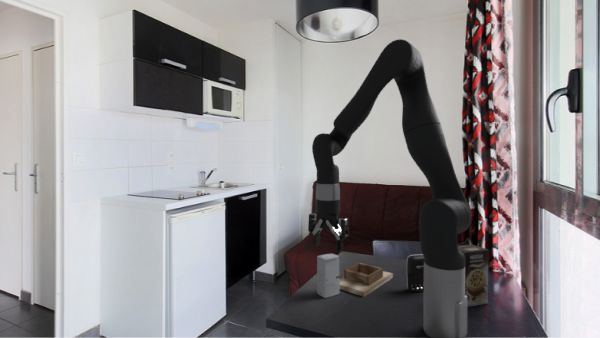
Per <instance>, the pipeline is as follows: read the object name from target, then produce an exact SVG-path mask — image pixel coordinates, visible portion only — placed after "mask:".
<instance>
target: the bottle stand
mask: <svg viewBox="0 0 600 338" xmlns="http://www.w3.org/2000/svg"><path fill="white" fill-rule="evenodd" d="M393 278H394V273H392V272H389V271H385V270H384V268H382V267H378V266H375V265H370V264H366V263H361V262H357V263H355V264H353V265H351V266H349V267H347V268H345V269H343V276H342V277H339V285H340V288H339V289H340V290H342V291H345V292H348V293H350V294H354V295H357V296H360V297H363V298H365V297H366V296H368V295H369V294H370V293H372V292H373V291H375V290H376V289H378V288H379V287H381V286H382V285H384V284H386V283H387V282H389V281H391V280H392V279H393Z"/></svg>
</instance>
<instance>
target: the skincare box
mask: <svg viewBox="0 0 600 338" xmlns="http://www.w3.org/2000/svg"><path fill="white" fill-rule="evenodd" d="M316 263H317V264H316V275H317V276H316V277H317V279H316V287H317V288H316V291H317V294H318V295H319V296H320V297H322V298H324V299H326V298H330V297H334V296H336V295H339V294H340V293H341V292H340V290H341V289H339V288H340V285H339V279H340V256H339V255H337V254H335V253H331V252H330V253H325V254H320V255H317V256H316Z"/></svg>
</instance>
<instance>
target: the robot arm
mask: <svg viewBox="0 0 600 338" xmlns="http://www.w3.org/2000/svg"><path fill="white" fill-rule="evenodd" d="M392 80H393V81H394V82H395V83H396V85H397V89H398V92H399V95H400V97H401V102H402V103H401V104H402V113H401V114H402V116H401V117H402V118H401V129H402V133H403V134H402V135H403V137H404V142H405V144H406V148H407V151H408V153H409V155H410V157H411V158H412V160H413V162H414V163H415V164H416V165H417V167H418V169H419V170H420V171H421V172H422V174H423V175H424V177H425V178H426V180H427V182H428V184H429V187H430V191H431V193H432V194H431V195H432V199H431V200H429V201H426V202H425V203H424V204H423V206H422V207H421V209H420V211H419V218H418V219H419V221H418V222H419V243H420V244H419V245H420V250H421V252H422V253H421V254H423V256H424V291H423V320H422V322H423V332H424V333H425V335H426V336H428V337H430V338H466V337H467V335H468V307H467V296H466V295H465V255H464V254H463V253H462V252H460V251H458V246H459V245H458V235H460V234H462V233H464V232H465V231H467V230H468V229H469V227H470V225H471V224H472V212H471V208H470V205H469V204H468V201H467V199H466V196H465V193H464V192H463V189H462V187H461V184H460V183H459V180H458V178H457V174H456V172H455V169H454V165H453V162H452V158H451V155H450V152H449V149H448V145H447V142H446V141H447V140H446V137H445V133H444V130H443V126H442V124H441V121H440V118H439V115H438V112H437V110H436V107H435V104H434V101H433V99H432V97H431V93H430V91H429V88H428V82H427V76H426V71H425V65H424V59H423V56H422V54H421V52H420V51H419V50H418V49H417V48H416V47H415V46H414V45H413V44H411V43H410V42H409V41H407V40H405V39H401V38H400V39H395V40H392V41H391V42H389V43H388V44H387V45H386V46H385V47H384V48H383V50H382V51H381V52H380V54H379V56H378V57H377V59H376V61H375V62H374V64H373V66H372V67H371V69H370V70H369V72H368V74H367V75H366V77H365V79H364V80H363V82H362V83H361V85H360V86H359V88H358V89H357V91H356V93H355V94H354V95H353V96H352V98H351V99H350V100H349V101H348V103H347V104H346V105H345V106H344V107H343V109H342V110H341V111H340V113H339V114H337V116H335V117H336V118H334V120H333V129H332V130H331V131H330V133H324V132H323V133H319V134H317V135H316V136H315V137H314V138H313V142H312V146H311V147H312V148H311V151H312V155H313V161H314V166H315V168H316V186H315V212H313V213H309V214H308V225H307V226H308V229H307V231H308V232H309V233H312V235H313V244H314V247H320V246H321V234H320V233H321V232H322V230H325V231H328V232H330V231H331V233H332V235H334V236H335V237H334V238H335V245H336V246H335V248H336V249H335V250H336V252H338V253H340V252H342V251H343V250H344V239H348V238H349V237H350V231H349V230H350V225H349V218H348V217H346V218H345V217H344V218H340V213H341V189H340V188H341V187H340V168H339V166H338V165H336V164H335V162H334V156H337V155H339V154H340V153H341V152H342V151H343V150H344V149H345V148H346V146H347V144H348V142H349V141H350V140H351V137H352V136H353V134H354V133H355V132H356V131H357V130H358V129H359V128H360V127H361V125H362V124H364V123H365V121H366V120H367V118H368V117H369V115H370V114H371V112H372V109H373V107H374V106H375V103H376V101H377V99H378V97H379V95H380V94H381V92H382V91H383V90H384V88H386V86H387V85H389V83H390V82H392Z"/></svg>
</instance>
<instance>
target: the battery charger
mask: <svg viewBox="0 0 600 338" xmlns="http://www.w3.org/2000/svg"><path fill="white" fill-rule="evenodd" d="M405 259H406V260H405V278H406V279H405V280H406V282H405V284H406V285H405V287H406V288H405V289H406V290H408V291H409V292H410V293H411V292H412V293H420V292H424V256H423V253H420V254H418V253H417V254H409V255H408V256H406V258H405Z"/></svg>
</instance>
